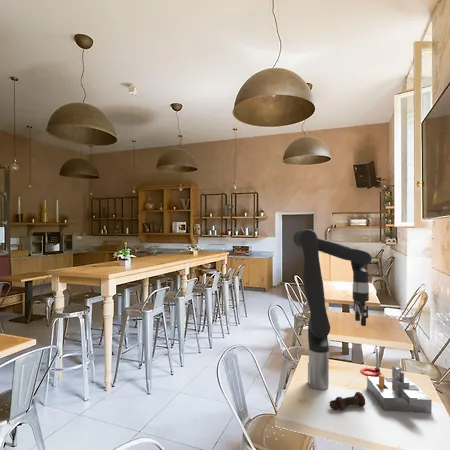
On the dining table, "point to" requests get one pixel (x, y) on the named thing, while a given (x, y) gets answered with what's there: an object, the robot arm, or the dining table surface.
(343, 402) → the bolt
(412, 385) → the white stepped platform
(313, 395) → the dining table surface
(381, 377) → the rounded pin
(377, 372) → the tow hook
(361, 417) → the dining table surface
